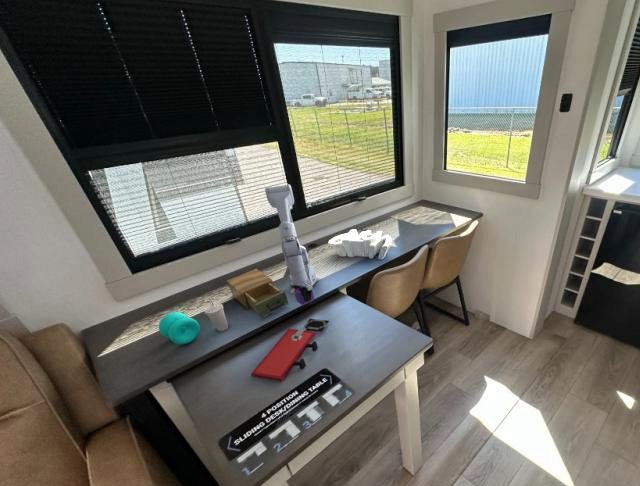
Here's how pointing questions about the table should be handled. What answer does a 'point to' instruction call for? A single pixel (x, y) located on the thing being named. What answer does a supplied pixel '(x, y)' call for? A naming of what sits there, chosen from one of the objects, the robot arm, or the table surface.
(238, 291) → the cabinet
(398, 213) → the table surface
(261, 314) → the drawer
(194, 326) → the turquoise spool
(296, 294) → the purple box
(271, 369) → the red board with handle
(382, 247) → the wavy white extrusion
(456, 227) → the table surface
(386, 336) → the table surface
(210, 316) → the smoothie
